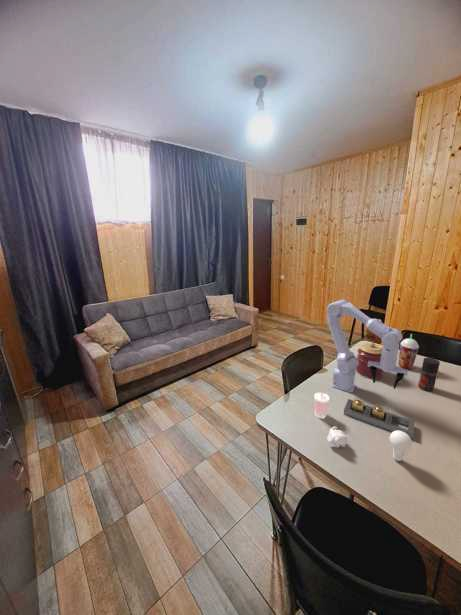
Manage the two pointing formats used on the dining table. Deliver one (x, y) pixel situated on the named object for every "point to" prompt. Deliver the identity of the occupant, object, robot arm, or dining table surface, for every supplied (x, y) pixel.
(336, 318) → the robot arm
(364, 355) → the canister
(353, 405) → the gold knobbed block
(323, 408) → the beverage cup
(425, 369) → the deodorant
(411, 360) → the smoothie
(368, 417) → the rack rail
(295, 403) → the dining table surface
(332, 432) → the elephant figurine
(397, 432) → the lightbulb
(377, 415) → the knobbed gold cube
